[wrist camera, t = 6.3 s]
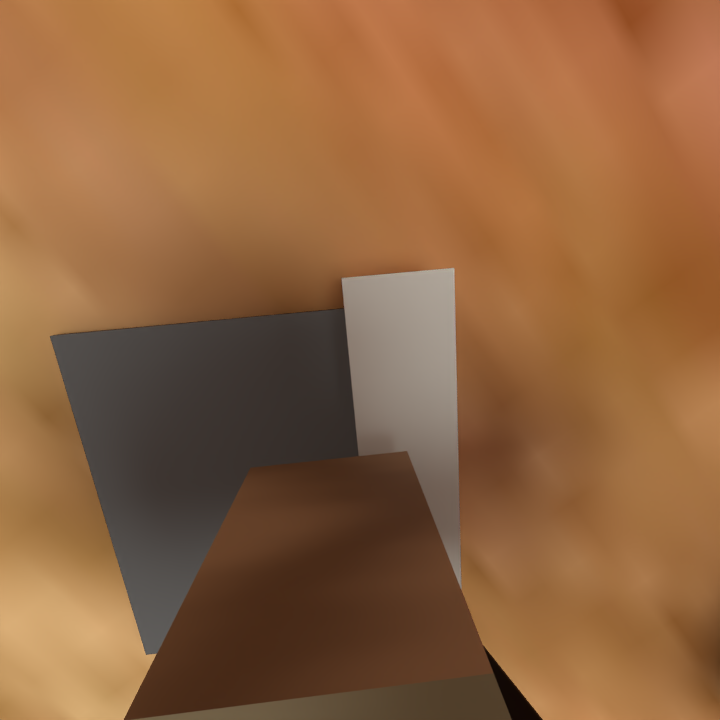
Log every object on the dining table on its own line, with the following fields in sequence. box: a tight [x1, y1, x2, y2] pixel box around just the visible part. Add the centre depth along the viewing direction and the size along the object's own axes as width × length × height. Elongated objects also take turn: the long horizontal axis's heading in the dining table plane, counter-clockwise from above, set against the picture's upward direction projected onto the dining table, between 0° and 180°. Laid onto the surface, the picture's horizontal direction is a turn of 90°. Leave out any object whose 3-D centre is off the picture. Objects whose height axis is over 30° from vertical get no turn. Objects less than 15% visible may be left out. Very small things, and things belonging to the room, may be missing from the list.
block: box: [124, 451, 512, 720], centre depth 6 cm, size 4×7×6 cm, turn 5°
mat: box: [50, 308, 359, 655], centre depth 13 cm, size 10×14×1 cm
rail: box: [341, 268, 461, 588], centre depth 12 cm, size 3×16×3 cm, turn 5°
